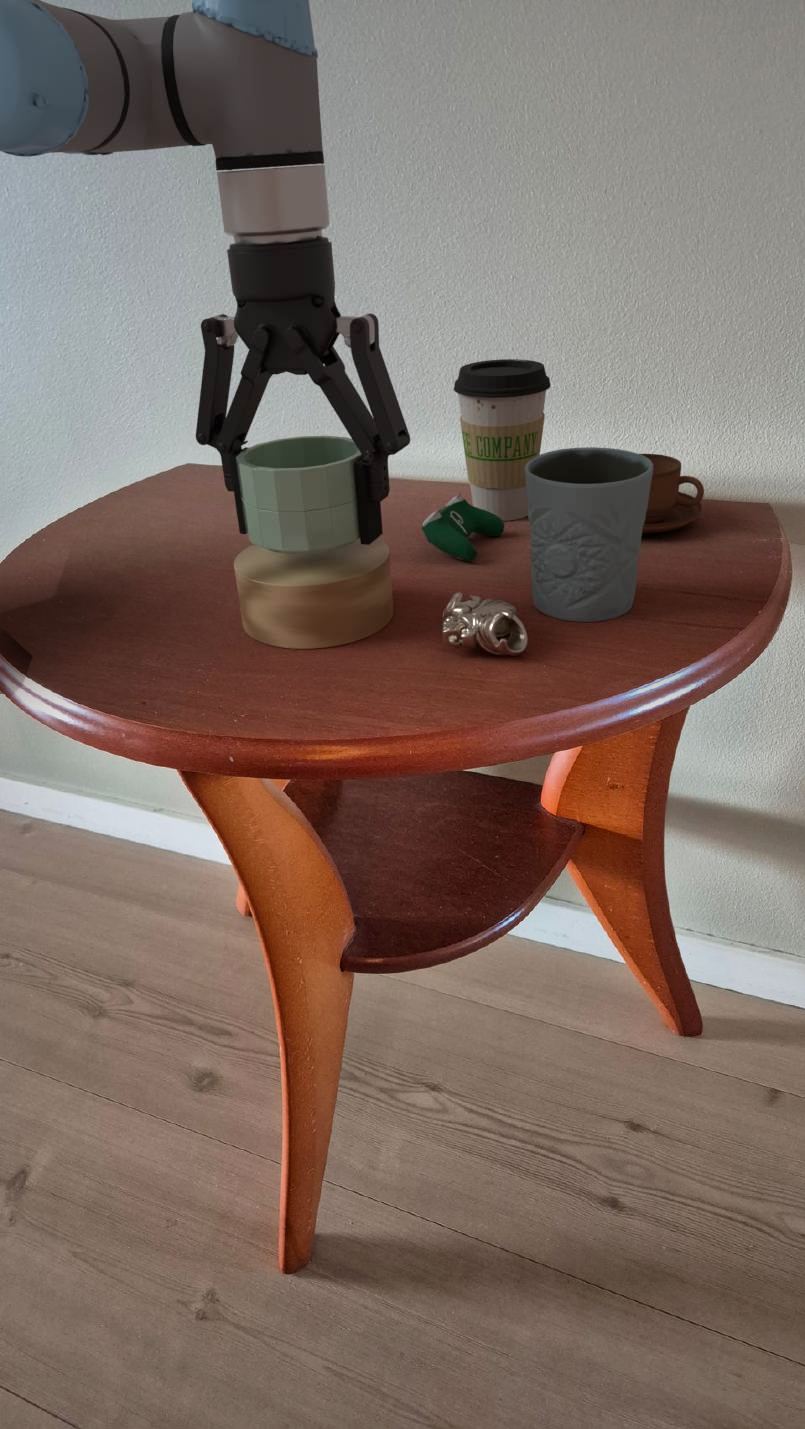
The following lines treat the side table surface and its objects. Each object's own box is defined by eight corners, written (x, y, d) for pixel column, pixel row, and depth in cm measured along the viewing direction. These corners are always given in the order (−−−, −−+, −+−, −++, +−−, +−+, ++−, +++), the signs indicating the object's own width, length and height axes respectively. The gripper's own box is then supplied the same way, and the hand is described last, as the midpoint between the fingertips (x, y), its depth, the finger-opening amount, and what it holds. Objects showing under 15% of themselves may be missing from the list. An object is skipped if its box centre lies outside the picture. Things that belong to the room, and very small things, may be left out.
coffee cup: (439, 518, 106) (434, 373, 99) (486, 493, 113) (484, 355, 106) (520, 532, 101) (521, 380, 94) (564, 504, 108) (568, 361, 100)
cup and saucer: (695, 505, 105) (700, 447, 102) (704, 544, 95) (711, 481, 92) (581, 504, 108) (583, 447, 105) (578, 542, 97) (580, 481, 94)
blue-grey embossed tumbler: (618, 575, 90) (626, 442, 84) (662, 619, 81) (675, 474, 75) (510, 587, 88) (510, 453, 82) (543, 634, 80) (546, 488, 74)
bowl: (226, 537, 83) (213, 454, 79) (327, 509, 88) (319, 429, 84) (291, 568, 75) (280, 478, 72) (396, 535, 81) (391, 449, 77)
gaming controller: (486, 548, 102) (447, 505, 102) (510, 525, 100) (470, 481, 100) (451, 580, 95) (408, 534, 95) (476, 556, 93) (433, 509, 93)
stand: (215, 615, 86) (205, 556, 84) (337, 576, 93) (332, 519, 90) (294, 664, 77) (287, 599, 75) (424, 616, 84) (421, 555, 81)
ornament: (413, 641, 80) (411, 599, 78) (480, 618, 83) (479, 577, 81) (476, 676, 74) (475, 632, 72) (544, 649, 77) (545, 606, 75)
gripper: (447, 227, 70) (456, 529, 81) (172, 237, 78) (215, 510, 89) (407, 237, 64) (423, 561, 75) (114, 247, 72) (167, 538, 83)
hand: (310, 533), depth 82 cm, fingers closed on bowl, 10 cm apart
